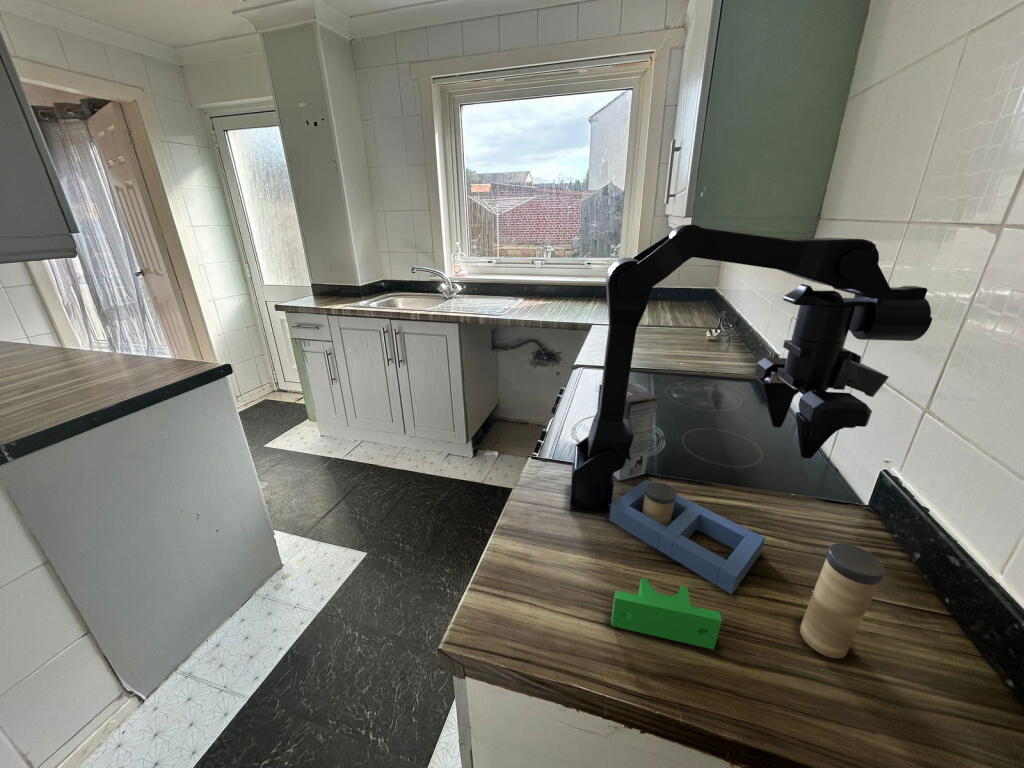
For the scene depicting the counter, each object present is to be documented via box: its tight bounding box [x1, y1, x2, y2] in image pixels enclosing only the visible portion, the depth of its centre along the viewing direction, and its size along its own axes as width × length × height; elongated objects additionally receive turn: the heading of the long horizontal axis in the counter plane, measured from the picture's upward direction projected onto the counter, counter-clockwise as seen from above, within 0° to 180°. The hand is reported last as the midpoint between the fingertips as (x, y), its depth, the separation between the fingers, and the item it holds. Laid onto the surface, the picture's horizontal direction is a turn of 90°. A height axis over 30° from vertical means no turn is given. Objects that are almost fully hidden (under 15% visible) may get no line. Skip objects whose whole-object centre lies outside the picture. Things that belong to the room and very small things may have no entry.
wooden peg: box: [799, 542, 886, 659], centre depth 44 cm, size 4×4×12 cm
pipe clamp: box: [610, 577, 723, 650], centre depth 47 cm, size 11×4×5 cm, turn 76°
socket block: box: [608, 479, 766, 595], centre depth 61 cm, size 19×10×3 cm, turn 42°
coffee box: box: [596, 381, 658, 482], centre depth 76 cm, size 9×6×16 cm
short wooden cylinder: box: [641, 481, 677, 527], centre depth 63 cm, size 4×4×6 cm
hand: (790, 441), depth 59 cm, fingers open, 9 cm apart
